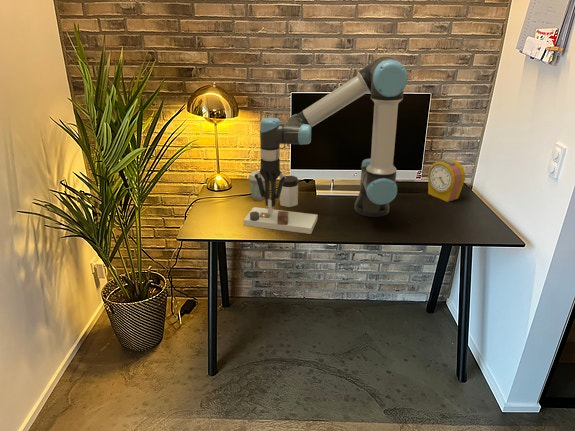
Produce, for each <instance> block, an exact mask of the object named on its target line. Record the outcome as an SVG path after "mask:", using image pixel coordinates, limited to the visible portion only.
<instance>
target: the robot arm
mask: <svg viewBox="0 0 575 431" xmlns="http://www.w3.org/2000/svg"><path fill="white" fill-rule="evenodd" d="M408 79H409V78H408V72H407V70H406V68H405V66H404V65H403V64H402V62H400V61H398V60H396V59H395V58H393V57H391V56H379V57H378V58H376V59H374V60H373V61H371V62H370V63H369V64H367V65H366V66H365V67H363V68H361V69H360V70H358V71H357V75H356V76H354V77H353V78H351V79H349V80H348V81H346V82H344V84H342V85H340V86H339V87H338V88H336V89H334V90H333V91H331V92H329V93H328V94H327V95H325V96H323V97H321V99H319V100H317V101H316V102H314V103H312V104H311V105H309V106H308V107H306V108H305V109H303V110H302V111H300V112H299V113H295V114H293V115H291V116H290V117H289V118H288V120H287V123H281V119H279V118H277V117H270V116H269V117H264V118H262V119H261V120H260V125H259V141H260V142H259V143H260V146H259V147H260V170H259V171H260V172H258V173H256V174H255V175H254V177H255V178H256V180H257V183H258V187H259V190H260V194H261V197H264V198H265V199H264V200H265V206H266V207H267V209H268V214H272V213H273V209H274V207H275V206H276V204H277V203H276V202H277V201H276V200H278V199H280V194H281V190H282V186H283V182H284V180H285V179H286V176H287V175H286V174H285V175H284V174H282V171H281V169H280V168H281V159H280V157H281V150H280V149H281V148H280V147H281V146H280V145H301V146H303V145H309V144H310V143H311V142H312V128H313V127H314V126H317V124H319V123H320V122H323V121H324V120H325V119H328V117H330V116H332V115H334V114H335V113H337V112H338V111H340V110H341V109H344V108H345V107H346V106H348V105H349V104H351V103H353V102H354V101H356V100H358V99H359V98H361V97H363V96H364V95H366V94H370V100H372V102H373V103H374V105H373V122H372V135H371V152H370V158H365V159H363V160H362V162H361V166H360V168H361V174H360V182H359V184H360V185H359V194H358V196H357V198H356V199H355V202H354V205H353V206H354V208H353V209H354V211H355V212H356V213H357V214H359V215H361V216H364V217H370V218H380V217H384V216H386V215H388V214H389V213H390V203H391V202H392V201H393V200H395V198H396V197H397V195H398V185H397V183H396V181H397V180H396V179H397V170H398V169H397V168H396V167H395V165H394V159H395V158H394V156H395V144H396V134H397V122H398V121H397V120H398V109H399V103H401V102H402V101H403V99H404V91H405V88H406V87H407V84H408ZM261 175H262V177H263V178H264V179H265V190H264V186H263V182H262V178H261ZM278 178H279V183H278V187H276V186H277V184H276V183H277V180H278ZM270 189H271V190H270Z"/></svg>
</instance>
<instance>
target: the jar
mask: <svg viewBox="0 0 575 431" xmlns="http://www.w3.org/2000/svg"><path fill="white" fill-rule="evenodd" d="M298 202H299V178H298V177H297V176H294V175H286V179H285V180H284V182H283V186H282V190H281V194H280V197H279V205H280V206H282V207H286V208H292V207H295V206H298Z"/></svg>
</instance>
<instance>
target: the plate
mask: <svg viewBox="0 0 575 431" xmlns="http://www.w3.org/2000/svg"><path fill="white" fill-rule="evenodd" d="M278 211H283V210H282V209H280V210H279V209H274V208H273V213H272V214H268V208H263V207H254V206H253V207H252V209H251V210H250V211H249V212H248V214H247V215H246V216H245V218H244V219H243V226H245V227H255V228H262V229H270V230H276V231H285V232H292V233H299V234H300V233H301V234H309V235H311V234H312V232H313V230H314V228H315V226H316V224H317V221H318V219H319V218H318V216H319V215H318V214H314V213H307V212H305V213H304V212H297V211H291V210H290V211H289V210H285V211H286V212H288V225H278V224H277V215H278ZM251 212H258V213H259V220H257V221H252V220H250V213H251ZM263 213H264V214H266V215H267V218H263V217H260V215H261V214H263Z"/></svg>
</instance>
